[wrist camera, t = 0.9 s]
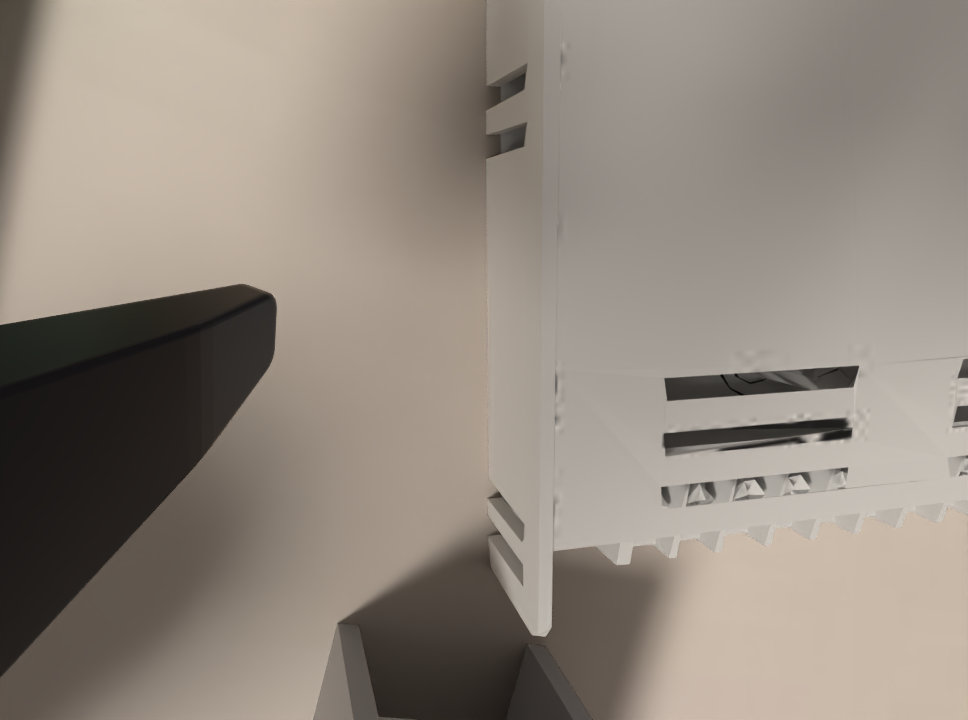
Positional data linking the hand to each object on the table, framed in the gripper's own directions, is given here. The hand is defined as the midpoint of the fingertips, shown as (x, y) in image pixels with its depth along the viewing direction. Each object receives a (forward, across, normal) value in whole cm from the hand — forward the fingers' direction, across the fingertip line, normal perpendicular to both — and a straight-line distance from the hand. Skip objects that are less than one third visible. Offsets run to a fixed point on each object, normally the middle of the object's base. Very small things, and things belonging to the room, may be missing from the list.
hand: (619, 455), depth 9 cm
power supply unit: (+19, 0, -3) cm, 20 cm away
